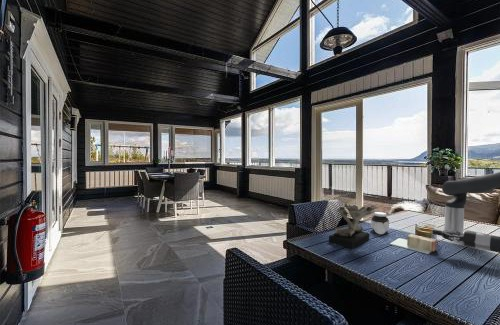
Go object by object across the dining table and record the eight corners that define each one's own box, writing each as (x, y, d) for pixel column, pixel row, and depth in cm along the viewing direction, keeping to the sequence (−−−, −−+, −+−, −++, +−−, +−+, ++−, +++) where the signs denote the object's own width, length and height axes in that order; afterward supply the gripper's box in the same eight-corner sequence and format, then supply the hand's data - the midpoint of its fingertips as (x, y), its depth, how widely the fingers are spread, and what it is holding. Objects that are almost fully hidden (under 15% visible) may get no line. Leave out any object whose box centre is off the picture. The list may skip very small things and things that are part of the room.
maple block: (436, 249, 135) (410, 243, 144) (436, 239, 135) (410, 234, 144) (433, 251, 132) (407, 245, 141) (434, 241, 132) (407, 236, 140)
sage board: (398, 238, 152) (399, 237, 152) (435, 247, 139) (435, 246, 139) (389, 244, 143) (389, 243, 143) (428, 254, 130) (428, 253, 130)
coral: (349, 232, 163) (350, 198, 162) (383, 241, 148) (384, 204, 147) (327, 241, 146) (328, 204, 145) (363, 252, 131) (364, 210, 130)
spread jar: (382, 229, 172) (383, 211, 171) (395, 234, 160) (395, 215, 160) (366, 229, 169) (366, 212, 169) (377, 235, 158) (378, 216, 158)
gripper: (480, 229, 125) (436, 222, 138) (475, 235, 116) (429, 226, 129) (479, 244, 126) (436, 236, 139) (474, 251, 117) (429, 241, 130)
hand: (433, 231), depth 134 cm, fingers closed
